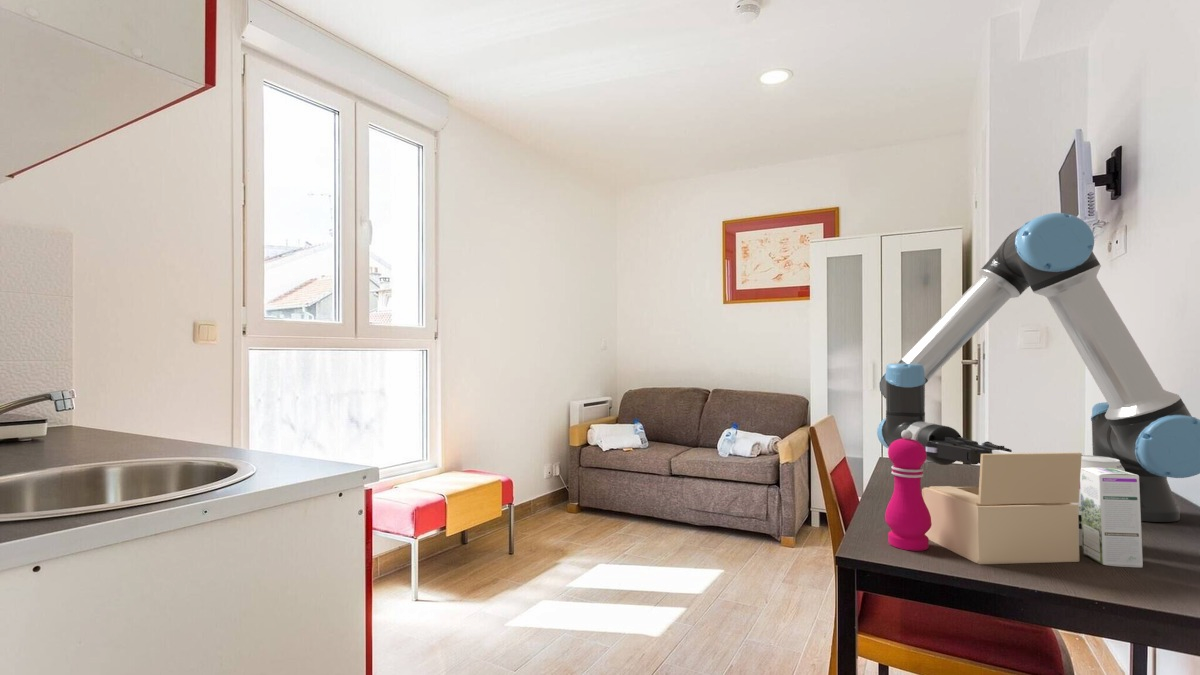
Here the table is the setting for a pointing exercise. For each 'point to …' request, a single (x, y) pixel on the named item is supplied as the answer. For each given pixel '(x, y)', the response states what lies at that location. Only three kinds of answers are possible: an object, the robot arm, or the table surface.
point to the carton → (1001, 528)
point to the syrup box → (1111, 516)
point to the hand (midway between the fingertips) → (1025, 464)
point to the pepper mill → (907, 496)
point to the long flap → (1029, 478)
